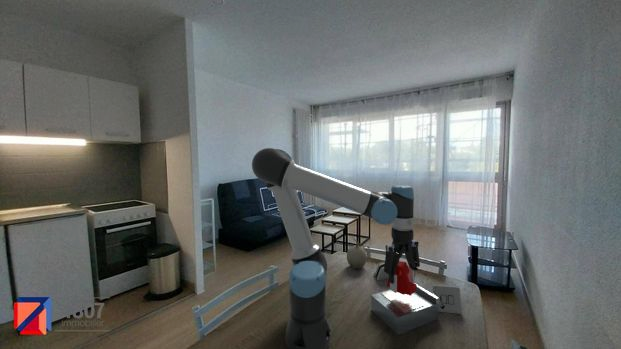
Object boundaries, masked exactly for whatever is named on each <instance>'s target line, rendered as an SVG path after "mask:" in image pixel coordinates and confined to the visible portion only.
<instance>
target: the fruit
mask: <svg viewBox="0 0 621 349" xmlns="http://www.w3.org/2000/svg"><path fill="white" fill-rule="evenodd" d="M351 238H352V239H353V241H355V243H356V245H352V246H351V247H350V248H348V250H347V252H346V260H347V262H348V263H347V264H348V266H350V267H352V268H353V269H355V270H357V269H358V270H359V269H362V268H363V267H365V266H366V263H367V261H368V260H367V252H369V250H368V249H367V248H366V247H365V246H364V245H362V244H361V243H359V242H358V241H357V240H356V239H355V238H354V237H353V236H352V237H351ZM366 251H367V252H366Z"/></svg>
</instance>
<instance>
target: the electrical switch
mask: <svg viewBox="0 0 621 349" xmlns="http://www.w3.org/2000/svg"><path fill="white" fill-rule="evenodd" d="M432 291H433V292H432V294H433V295H435V296H437V297H438V298H439V313H447V314H455V315H456V314H458V315H462V313H463V311H462V310H463V309H462V301H461V300H462V299H461V289H460V287H458V286H454V285H452V286H451V285H442V284H441V285H440V284H433V285H432Z"/></svg>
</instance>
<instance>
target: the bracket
mask: <svg viewBox="0 0 621 349" xmlns="http://www.w3.org/2000/svg"><path fill="white" fill-rule="evenodd" d="M406 263H407V262H406ZM406 263H404V262H399V263H398V266H397V269H396V273H395V274H396V275H397V292H398V293H400V294H402V295H405V294H406V295H409V296H411V295H412V294H413V293H414V292H415V291H416V290H417V285H418V284H417V283H415V282H414V283H415V284H414V283H411V282H409V278H408V274H409V268H410V267H408V265H407V264H408V263H407V264H406ZM416 284H417V285H416ZM386 287H388V288H390V282H389V278H388V279H387V281H386Z"/></svg>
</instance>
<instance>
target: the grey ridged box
mask: <svg viewBox="0 0 621 349" xmlns="http://www.w3.org/2000/svg"><path fill="white" fill-rule="evenodd" d="M414 284H416V285H417V290H416V291H415V292H414V293H413V294H412V295H411V296H409V295H406V294H405V295H402V294H400V293H398V292H397V293H394V292H393V291H391V290H390V289H388V290H383V291H381V292H378V293H377V292H376V293H373V294H371V295H370V297H371V298H370V300H371V302H370V308H371V309H370V310H371V312H373V313H374V315H376V316H377V317H378V318H379V319H380V320H381V321H382V322H384V324H386V326H387V327H388V328H390V330H392V331H393V332H394V333H395V334H396V335H398V336H399V335H402V334H405V333H407V332H409V331H412V330H415V329H417V328H419V327H422V326H424V325H427V324H429V323H432V322H435V321H436V320H439V315H440V314H439V313H440V312H439V298H438V297H437V296H435V295H433V292H430V291H429V290H427V289H425V288H423V287H422V286H420V285H419V284H417V283H415V282H414Z"/></svg>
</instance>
